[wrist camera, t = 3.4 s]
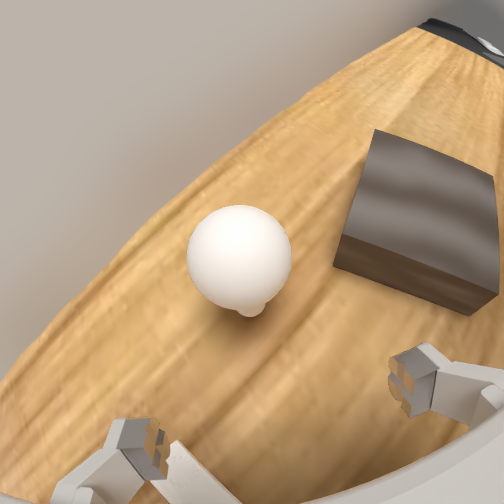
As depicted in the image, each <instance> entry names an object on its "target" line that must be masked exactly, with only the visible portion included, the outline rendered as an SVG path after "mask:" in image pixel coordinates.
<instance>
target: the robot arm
mask: <svg viewBox="0 0 504 504" xmlns="http://www.w3.org/2000/svg"><path fill="white" fill-rule="evenodd" d="M389 368H390V369H391V370H392V371H391V373H390V375H389V376H388V385H389V389H390V392H391V394H392V396H393V397H394V398H395V400H398V401H401V402H402V404H401V408H402V409H403V410H404V412H405V413H406V414H407V416H408V417H409V418H413V417H415V416H417V415H419V414H422V413H424V412H426V411H428V410H430V409H431V411H433V412H435V413H438V414H440V415H443V416H445V417H448V418H450V419H453V420H455V421H458V422H461V423H463V424H466V425H468V426H470V428H469V431H468V432H466V433H465V434H463V435H462V436H460V437H458V438H457V439H455V440H453V441H452V442H450V443H448V444H446V445H445V446H443V447H441V448H439V449H438V450H436V451H434V452H432V453H430V454H428V455H426V456H424V457H423V458H421V459H419V460H417V461H415V462H413V463H410V464H408V465H406V466H404V467H402V468H400V469H398V470H395V471H393V472H391V473H389V474H386V475H384V476H382V477H379V478H377V479H374V480H372V481H369V482H367V483H364V484H361V485H358V486H356V487H353V488H350V489H347V490H344V491H341V492H338V493H335V494H332V495H329V496H325V497H322V498H318V499H315V500H311V501H307V502H303V503H299V504H504V369H498V368H491V367H485V366H480V365H474V364H468V363H463V362H457V361H454V362H451V361H450V360H448V359H447V358H446V357H445V356H444V355H443V354H441V353H440V352H439V351H438V350H437V349H435V348H434V347H433V346H432V345H431V344H430V343H428V342H424V343H422V344H420V345H418V346H415V347H414V348H411V349H409V350H407V351H404V352H402V353H400V354H397V355H395V356H392V357H390V359H389ZM159 425H160V423H159V421H158V420H157V418H156V417H155V416H143V417H128V418H116V419H114V420H113V422H112V425H111V427H110V430H109V433H108V436H107V438H106V441H105V444H104V447H103V449H99V450H98V451H96V452H95V453H94V454H93V455H92V456H90V457H89V458H88V459H87V460H85V461H84V462H83V463H82V464H80V465H79V466H78V467H77V468H75V469H74V470H73V471H72V472H70V473H69V474H68V475H67V476H65V477H64V478H63V479H61V480H60V481H59V482H58V483H57V485H56V488H55V490H54V493H53V495H52V498H51V500H50V503H49V504H128V503H129V501H130V500H131V499H132V498H133V496H134V495H135V494H136V493H137V491H138V490H139V489H140V488H141V486H142V485H143V484H144V482H145V481H150V480H166V479H167V475H168V467H169V465H168V464H167V462H166V460H167V458H168V457H169V456H170V443H169V440H168V437H167V435H166V433H165V432H164V431H162V430H161V429H159ZM0 504H37V503H33V502H29V501H26V500H22V499H19V498H16V497H13V496H10V495H7V494H4V493H1V492H0Z"/></svg>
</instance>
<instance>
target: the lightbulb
mask: <svg viewBox="0 0 504 504" xmlns="http://www.w3.org/2000/svg"><path fill="white" fill-rule="evenodd" d="M291 263H292V252H291V247H290V243H289V240H288V237H287V235H286V233H285V231H284V229H283V228H282V227H281V225H280V224H279V223H278V222H277V221H276V219H275V218H273V217H272V216H271V215H269V214H268V213H266V212H264V211H262V210H260V209H258V208H255V207H251V206H246V205H233V206H227V207H224V208H221V209H218V210H216V211H214V212H212V213H210V214H209V215H208V216H207V217H205V218H204V219H203V220H202V221H201V222H200V223H199V224H198V226H197V227H196V229H195V230H194V232H193V233H192V235H191V238H190V240H189V244H188V250H187V266H188V271H189V275H190V278H191V280H192V281H193V283H194V285H195V286H196V288H197V290H198V291H199V292H200V293H201V294H202V295H203V296H204V297H205V298H207V299H208V300H209V301H211V302H212V303H214V304H216V305H218V306H221V307H223V308H227V309H232V310H237V312H238V313H240V314H241V315H243V316H246V317H253V316H256V315H258V314H260V313H261V312H262V311H263V309H264V307H265V304H266V302H268V301H269V300H271V299H272V298H273V297H274V296H275V295H276V294H277V293H278V292H279V291H280V290H281V288H282V287H283V285H284V284H285V282H286V280H287V278H288V276H289V273H290V269H291Z"/></svg>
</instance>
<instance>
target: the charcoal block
mask: <svg viewBox="0 0 504 504" xmlns="http://www.w3.org/2000/svg"><path fill="white" fill-rule="evenodd" d="M333 266H335V267H337V268H340V269H343V270H346V271H348V272H351V273H354V274H357V275H359V276H362V277H365V278H368V279H370V280H373V281H376V282H379V283H381V284H384V285H387V286H390V287H392V288H395V289H398V290H400V291H403V292H406V293H409V294H411V295H414V296H417V297H419V298H422V299H425V300H427V301H430V302H433V303H435V304H438V305H441V306H443V307H446V308H449V309H451V310H454V311H457V312H459V313H462V314H464V315H467V316H470V315H472V314H473V313H475V312H476V311H477V310H479V309H480V308H481V307H483V306H484V305H485V304H487V303H488V302H489V301H491V300H492V299H493V298H495V297H496V296H497V295H498V294H499V275H500V255H499V229H498V216H497V205H496V196H495V188H494V181H493V176H491V175H489V174H487V173H485V172H483V171H481V170H479V169H477V168H475V167H473V166H470V165H468V164H466V163H464V162H462V161H459V160H457V159H455V158H452V157H450V156H448V155H445V154H443V153H440V152H438V151H436V150H433V149H431V148H428V147H425V146H423V145H420V144H418V143H415V142H412V141H409V140H407V139H404V138H401V137H398V136H395V135H392V134H389V133H386V132H383V131H380V130H377V129H375V131H374V134H373V138H372V141H371V145H370V148H369V152H368V155H367V159H366V162H365V165H364V169H363V172H362V175H361V179H360V182H359V185H358V188H357V191H356V194H355V197H354V201H353V204H352V207H351V210H350V213H349V216H348V219H347V222H346V224H345V227H344V230H343V233H342V237H341V240H340V244H339V247H338V250H337V254H336V257H335V260H334V264H333Z"/></svg>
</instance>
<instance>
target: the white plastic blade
mask: <svg viewBox="0 0 504 504" xmlns="http://www.w3.org/2000/svg"><path fill="white" fill-rule="evenodd" d="M166 462H167V464H168V465H169V467H168V475H167V479H166V480H150V482H151V483H152V484H153V485H154V486H155V488H156V489H157V490H158V491H159V492H160V493H161V494H162V495H163V496H164V497H165V498H166V500H167V501H168V502H169V503H170V504H243V503H241V502H240V501H239V500H238V499H237V498H236V497H235V496H234V495H233V494H232V493H231V492H230V491H229V490H227V489H226V488H225V487H224V486H223V485H222V484H221V483H220V482H219V481H218V480H217V479H216V478H215V477H214V476H213V475H212V474H211V473H210V472H209V471H208V470H207V469H206V468H205V467H204V466H203V465H202V464H201V463H200V462H199V461H198V460H197V459H196V458H195V457H194V456H193V455H192V454H191V453H190V452H189V451H188V449H187V448H186V447H185V446H184V445H183V444H182V443H181V442H180V441H179V440H176V441H175V442H173V443H172V444H171V445H170V456H169V457H168V458H167V460H166Z"/></svg>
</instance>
